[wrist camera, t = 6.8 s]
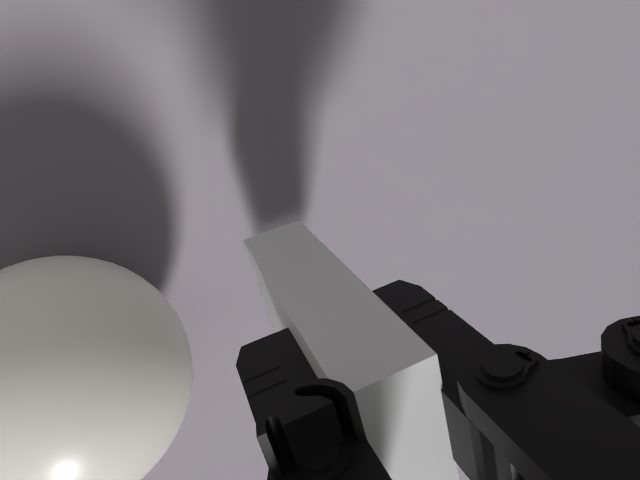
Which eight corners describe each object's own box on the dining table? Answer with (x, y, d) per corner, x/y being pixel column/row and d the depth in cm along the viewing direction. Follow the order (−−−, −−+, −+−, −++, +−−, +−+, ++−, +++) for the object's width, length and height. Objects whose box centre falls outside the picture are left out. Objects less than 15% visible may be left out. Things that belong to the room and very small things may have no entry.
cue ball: (-207, 420, 7) (-139, 293, 11) (-5, 654, 9) (-15, 470, 13) (179, 247, 9) (109, 199, 14) (262, 464, 11) (179, 362, 16)
